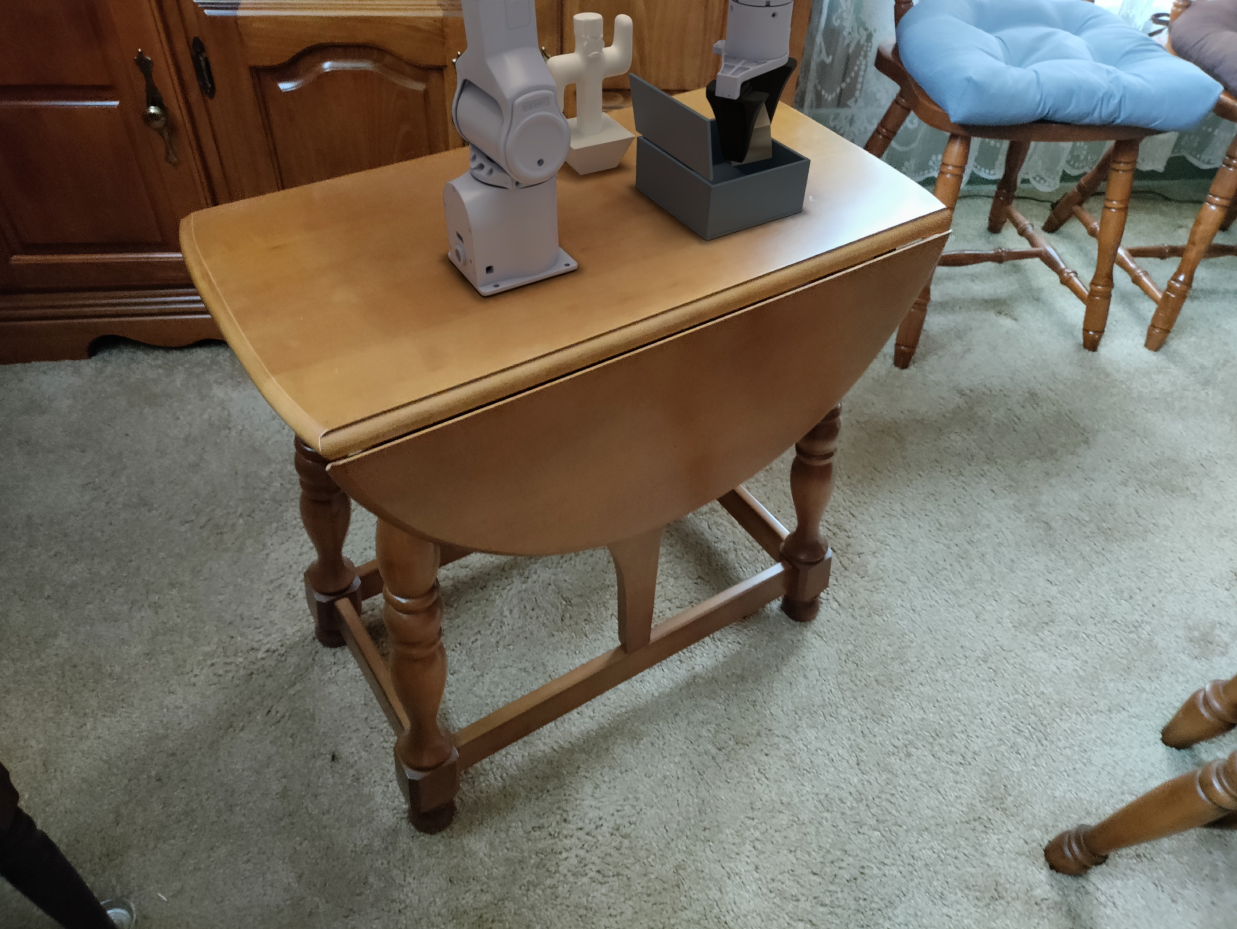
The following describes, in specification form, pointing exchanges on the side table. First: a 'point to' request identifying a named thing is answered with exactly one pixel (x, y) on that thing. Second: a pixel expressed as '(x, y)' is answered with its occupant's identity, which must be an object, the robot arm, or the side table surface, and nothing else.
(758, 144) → the block
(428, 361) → the side table surface
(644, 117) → the flap
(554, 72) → the figurine
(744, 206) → the carton
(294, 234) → the side table surface
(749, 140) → the robot arm
